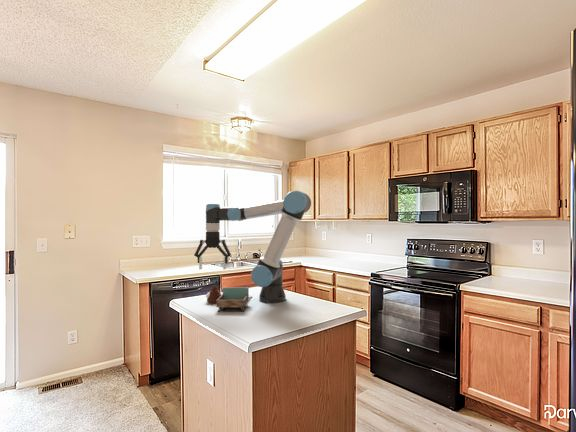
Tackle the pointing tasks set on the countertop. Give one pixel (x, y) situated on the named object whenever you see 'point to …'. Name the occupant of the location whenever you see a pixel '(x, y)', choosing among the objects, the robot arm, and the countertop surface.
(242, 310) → the track
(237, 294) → the shallow wooden tray
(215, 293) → the poop emoji
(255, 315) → the countertop surface
